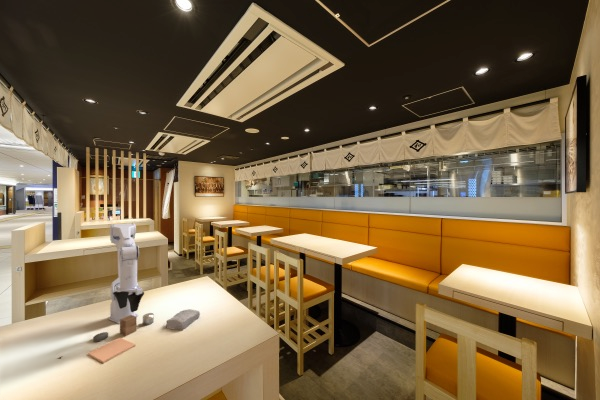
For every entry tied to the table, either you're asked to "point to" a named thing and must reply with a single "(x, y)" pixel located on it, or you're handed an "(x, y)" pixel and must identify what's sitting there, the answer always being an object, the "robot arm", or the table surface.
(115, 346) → the terracotta tile
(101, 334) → the black rubber puck
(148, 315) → the brushed metal tin
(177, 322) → the stone block
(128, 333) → the walnut block
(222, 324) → the table surface
